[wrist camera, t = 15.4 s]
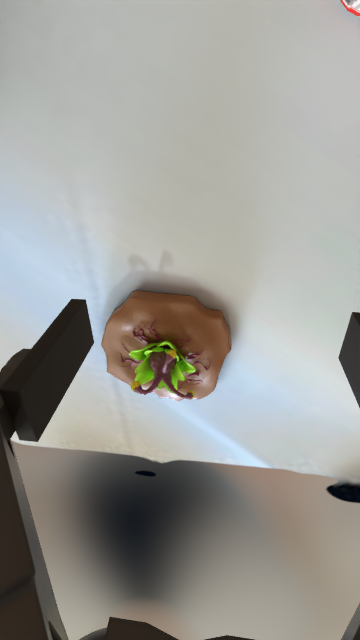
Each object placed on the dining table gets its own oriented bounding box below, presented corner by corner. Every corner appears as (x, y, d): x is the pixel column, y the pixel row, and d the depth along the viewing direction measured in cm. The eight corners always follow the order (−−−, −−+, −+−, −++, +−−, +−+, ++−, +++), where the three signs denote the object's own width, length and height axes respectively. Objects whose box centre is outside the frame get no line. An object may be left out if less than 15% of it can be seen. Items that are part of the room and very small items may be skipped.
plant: (114, 273, 49) (87, 314, 39) (244, 309, 49) (248, 358, 40) (100, 372, 60) (75, 423, 50) (206, 401, 60) (201, 456, 51)
